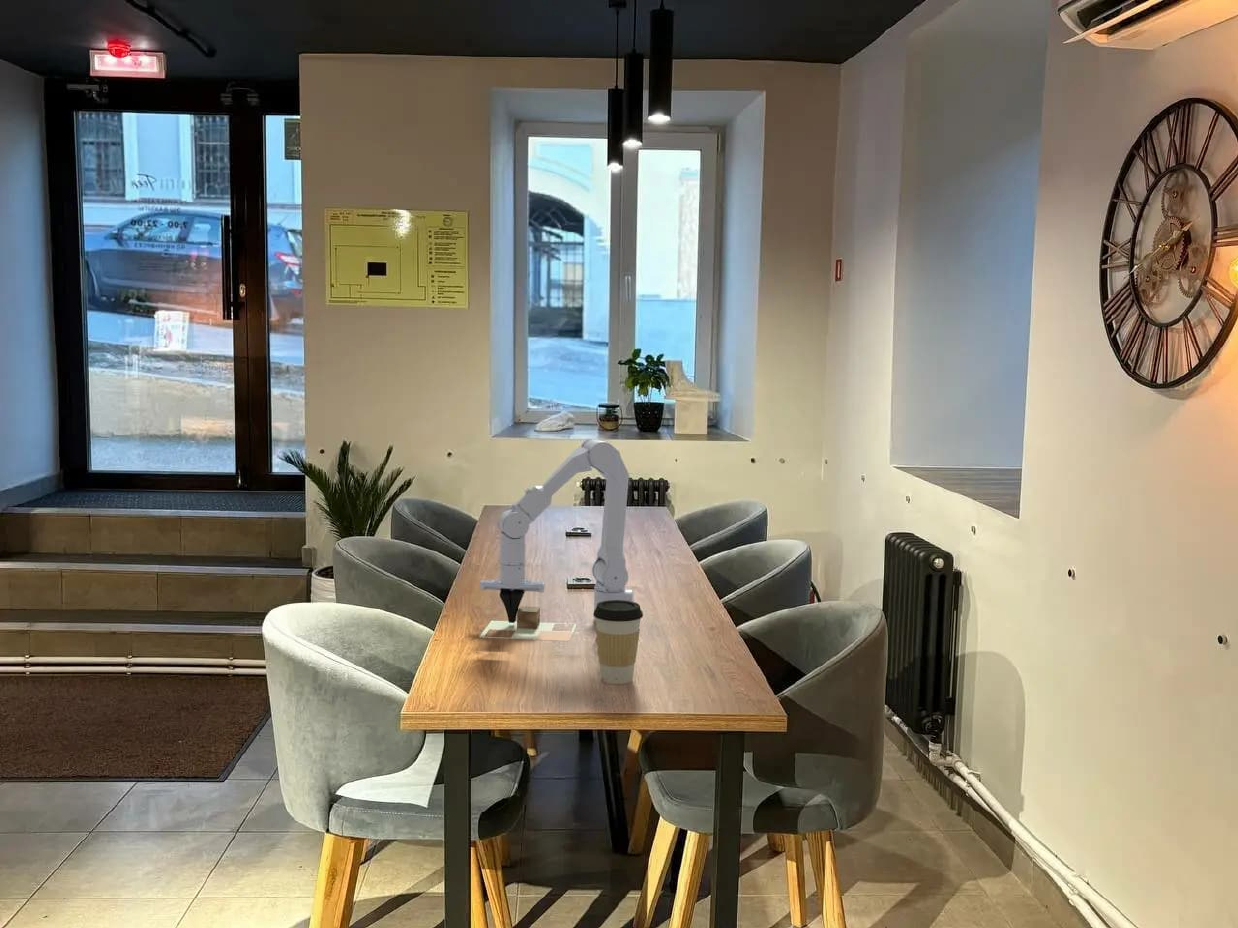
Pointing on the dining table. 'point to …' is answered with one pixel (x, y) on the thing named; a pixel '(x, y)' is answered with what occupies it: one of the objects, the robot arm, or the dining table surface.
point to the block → (528, 617)
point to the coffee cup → (617, 639)
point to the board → (530, 631)
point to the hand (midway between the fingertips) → (512, 621)
